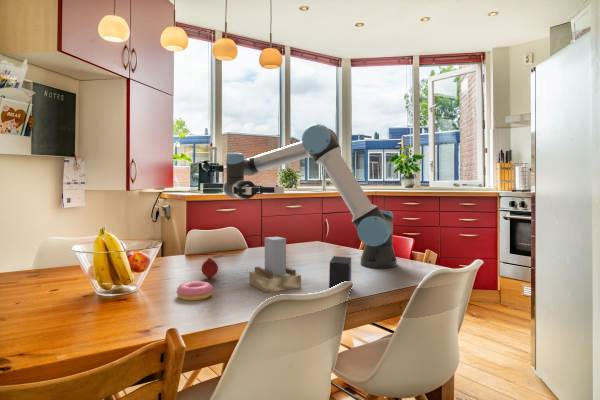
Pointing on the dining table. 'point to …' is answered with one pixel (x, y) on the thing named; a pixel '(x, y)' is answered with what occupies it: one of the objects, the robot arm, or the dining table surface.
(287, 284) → the stand
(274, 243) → the tall grey prism
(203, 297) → the doughnut
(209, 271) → the onion
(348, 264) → the small box
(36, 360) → the dining table surface
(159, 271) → the dining table surface
